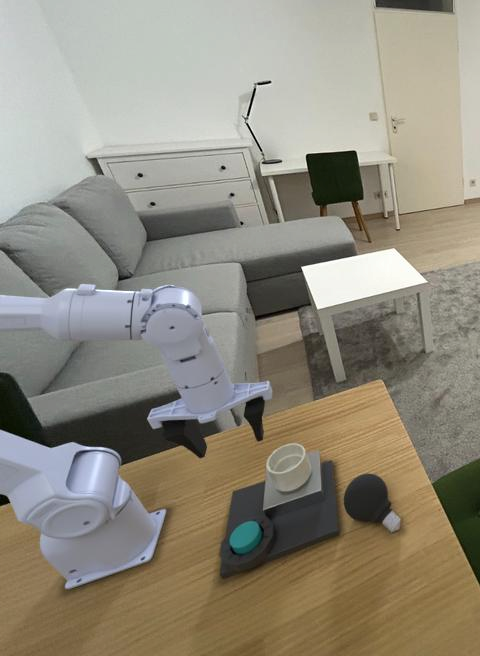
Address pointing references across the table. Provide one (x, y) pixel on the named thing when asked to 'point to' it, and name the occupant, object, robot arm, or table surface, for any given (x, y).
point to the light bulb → (370, 501)
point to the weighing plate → (295, 491)
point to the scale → (278, 526)
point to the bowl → (289, 467)
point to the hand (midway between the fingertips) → (232, 444)
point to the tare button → (246, 537)
